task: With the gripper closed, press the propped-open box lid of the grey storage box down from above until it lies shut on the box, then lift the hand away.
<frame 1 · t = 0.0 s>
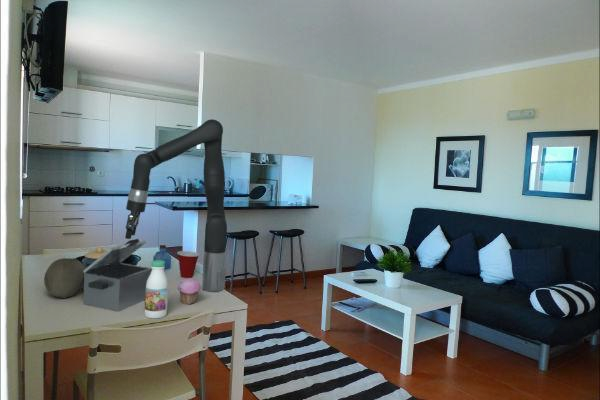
hand: (130, 236, 176), 22 cm above the table, tool pointing down, fingers open, 8 cm apart
cantaloupe: (65, 296, 162), on the table
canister: (98, 287, 176), on the table
grey storage box: (118, 300, 162), on the table
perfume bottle: (161, 268, 213), on the table
cupcake: (188, 303, 165), on the table
box lid: (117, 252, 161), point 19 cm above the table, hinge at 40.0°, touching grey storage box
plastic cup: (187, 277, 202), on the table
milk bottle: (155, 315, 150), on the table
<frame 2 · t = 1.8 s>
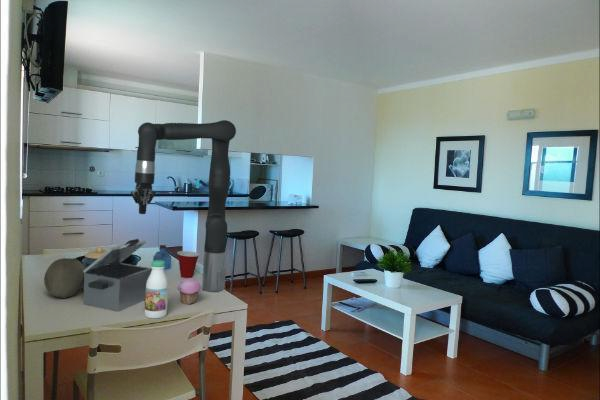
hand: (142, 213, 170), 34 cm above the table, tool pointing down, fingers closed
nothing on the table moved.
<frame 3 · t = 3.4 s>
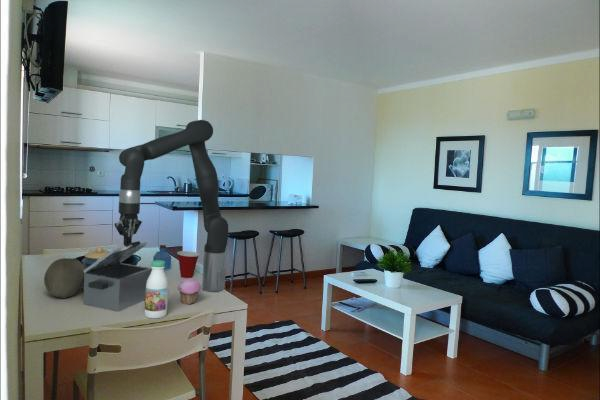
hand: (127, 245, 159), 22 cm above the table, tool pointing down, fingers closed
box lid: (117, 253, 161), point 19 cm above the table, hinge at 36.8°, touching grey storage box
everything else where it was.
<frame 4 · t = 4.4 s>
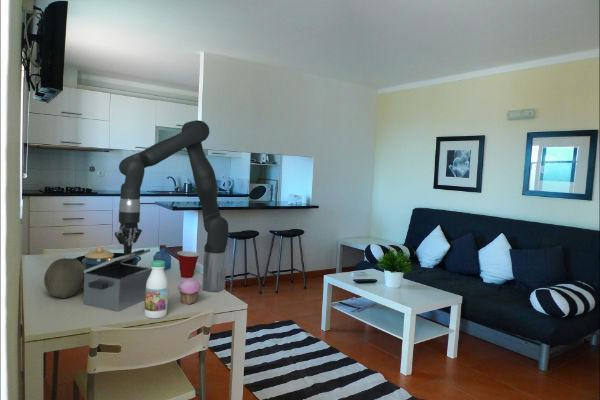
hand: (127, 254, 159), 19 cm above the table, tool pointing down, fingers closed
box lid: (120, 257, 161), point 17 cm above the table, hinge at 25.5°, touching grey storage box, gripper
everything else where it was.
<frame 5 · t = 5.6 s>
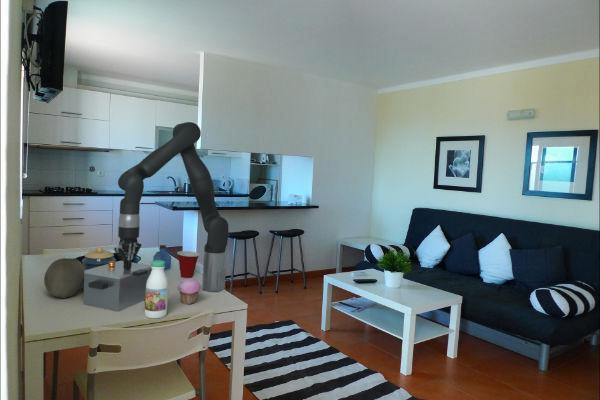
hand: (127, 269, 160), 13 cm above the table, tool pointing down, fingers closed
box lid: (123, 267, 160), point 14 cm above the table, hinge at 0.3°, touching grey storage box
everything else where it was.
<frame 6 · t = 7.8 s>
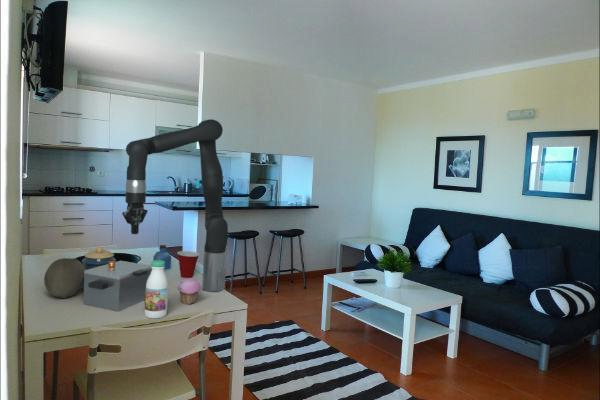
hand: (134, 233, 166), 26 cm above the table, tool pointing down, fingers closed
nothing on the table moved.
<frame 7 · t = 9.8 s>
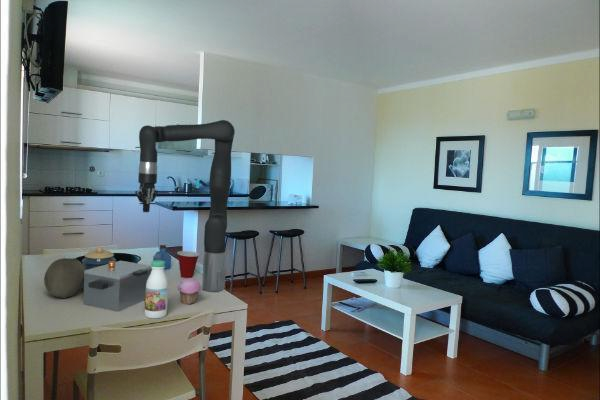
hand: (146, 212, 180), 33 cm above the table, tool pointing down, fingers closed
nothing on the table moved.
at the end: box lid at +0° (first picture: +40°) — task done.
